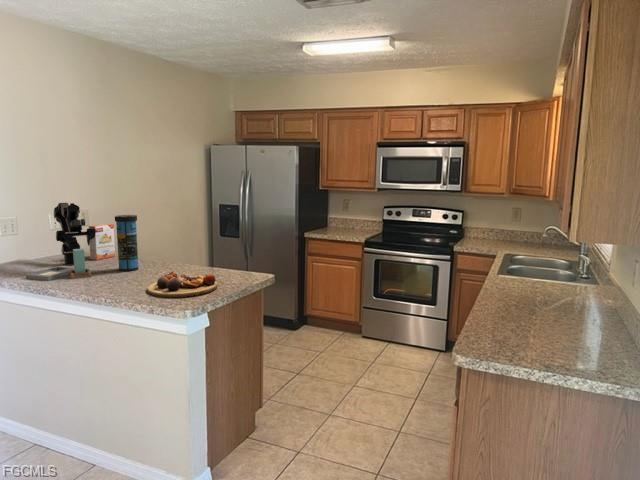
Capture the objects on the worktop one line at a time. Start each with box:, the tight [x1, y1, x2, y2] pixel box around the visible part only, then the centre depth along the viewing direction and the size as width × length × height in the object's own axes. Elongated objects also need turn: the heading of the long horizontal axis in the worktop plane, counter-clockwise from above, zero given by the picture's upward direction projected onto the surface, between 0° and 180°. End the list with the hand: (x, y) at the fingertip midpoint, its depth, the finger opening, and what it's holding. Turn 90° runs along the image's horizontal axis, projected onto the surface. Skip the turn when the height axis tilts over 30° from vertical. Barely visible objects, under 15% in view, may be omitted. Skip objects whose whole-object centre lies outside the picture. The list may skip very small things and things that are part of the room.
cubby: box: [68, 268, 92, 280], centre depth 234 cm, size 9×9×2 cm
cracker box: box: [88, 223, 116, 261], centre depth 278 cm, size 14×6×21 cm, turn 157°
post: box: [73, 248, 86, 273], centre depth 233 cm, size 4×4×14 cm
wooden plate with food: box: [146, 270, 218, 298], centre depth 213 cm, size 32×32×8 cm
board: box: [25, 266, 74, 281], centre depth 235 cm, size 14×20×2 cm
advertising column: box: [114, 214, 139, 273], centre depth 247 cm, size 11×11×30 cm
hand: (79, 246), depth 239 cm, fingers open, 9 cm apart
